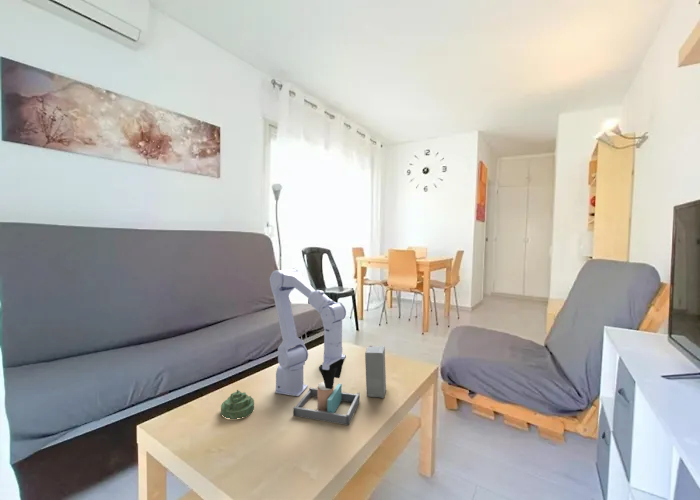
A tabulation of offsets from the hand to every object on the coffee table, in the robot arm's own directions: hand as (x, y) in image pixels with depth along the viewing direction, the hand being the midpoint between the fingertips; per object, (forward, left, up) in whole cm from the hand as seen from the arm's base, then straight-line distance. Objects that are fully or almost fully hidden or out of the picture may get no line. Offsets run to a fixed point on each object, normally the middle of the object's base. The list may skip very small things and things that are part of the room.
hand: (332, 382), depth 103 cm
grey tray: (-2, 0, -9) cm, 9 cm away
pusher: (+1, 0, -9) cm, 9 cm away
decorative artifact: (-29, -9, -9) cm, 32 cm away
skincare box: (+11, +15, -9) cm, 21 cm away
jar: (-2, 0, -9) cm, 9 cm away
